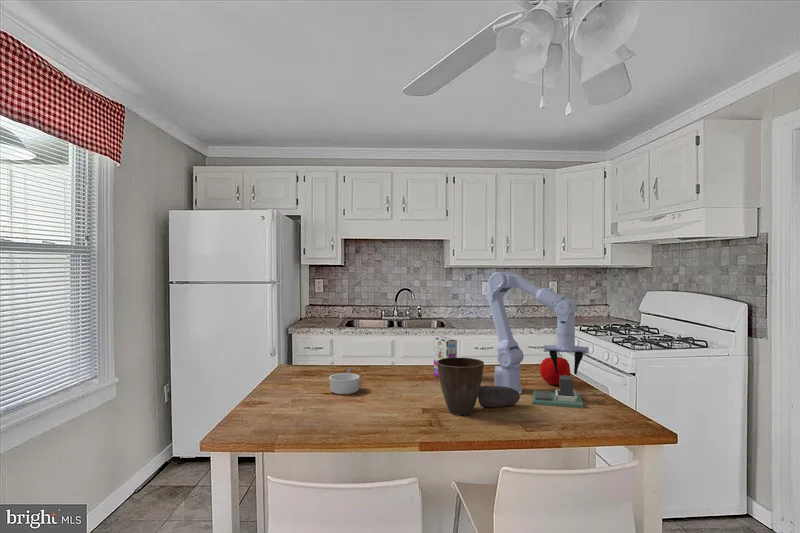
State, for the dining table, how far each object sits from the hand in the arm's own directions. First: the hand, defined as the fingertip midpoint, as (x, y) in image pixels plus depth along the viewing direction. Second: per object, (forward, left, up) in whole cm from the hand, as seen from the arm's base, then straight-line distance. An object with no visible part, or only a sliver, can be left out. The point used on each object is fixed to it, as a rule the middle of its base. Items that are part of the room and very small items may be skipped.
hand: (565, 373), depth 165 cm
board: (-3, 0, -9) cm, 10 cm away
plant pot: (-33, -21, -10) cm, 40 cm away
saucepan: (-79, -4, -10) cm, 80 cm away
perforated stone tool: (-22, -12, -10) cm, 27 cm away
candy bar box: (-46, +21, -10) cm, 51 cm away
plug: (0, 0, -8) cm, 8 cm away
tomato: (-3, +22, -10) cm, 24 cm away
